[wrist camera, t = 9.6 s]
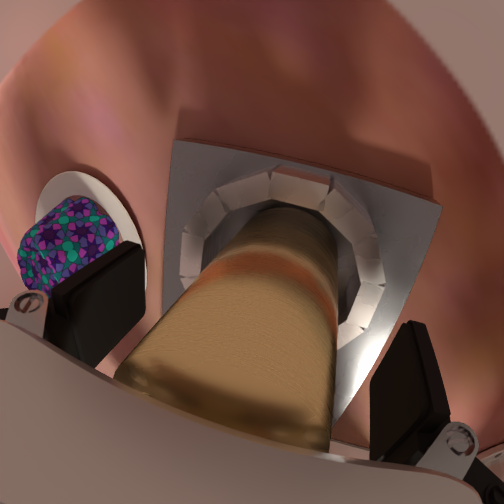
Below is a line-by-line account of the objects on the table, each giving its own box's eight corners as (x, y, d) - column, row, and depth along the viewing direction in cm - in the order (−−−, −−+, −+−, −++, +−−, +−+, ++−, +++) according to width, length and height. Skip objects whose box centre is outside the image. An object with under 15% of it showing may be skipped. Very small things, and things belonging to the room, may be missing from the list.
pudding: (185, 286, 19) (143, 334, 15) (96, 332, 24) (60, 366, 19) (90, 133, 17) (29, 144, 12) (26, 221, 22) (-17, 242, 17)
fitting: (351, 224, 13) (374, 403, 4) (319, 314, 15) (288, 499, 6) (245, 195, 14) (99, 312, 5) (227, 286, 16) (125, 440, 7)
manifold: (433, 199, 13) (462, 222, 9) (323, 428, 21) (317, 468, 18) (187, 138, 15) (144, 143, 12) (172, 382, 23) (150, 416, 20)
